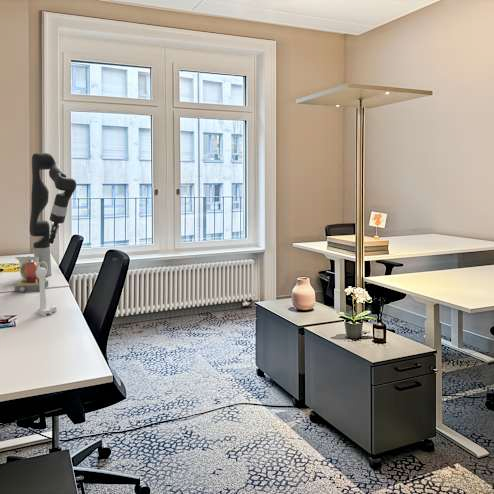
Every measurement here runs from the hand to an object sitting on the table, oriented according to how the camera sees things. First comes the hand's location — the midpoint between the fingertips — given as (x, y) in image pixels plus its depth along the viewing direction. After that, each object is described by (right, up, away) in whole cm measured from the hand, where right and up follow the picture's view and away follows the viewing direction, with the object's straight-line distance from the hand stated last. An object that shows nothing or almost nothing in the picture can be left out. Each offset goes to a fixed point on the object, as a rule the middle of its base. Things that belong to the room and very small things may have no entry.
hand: (51, 240), depth 280 cm
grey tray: (-7, -26, -9) cm, 28 cm away
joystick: (+20, -32, -57) cm, 69 cm away
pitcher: (-17, -23, +16) cm, 33 cm away
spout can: (-7, -23, -8) cm, 25 cm away
